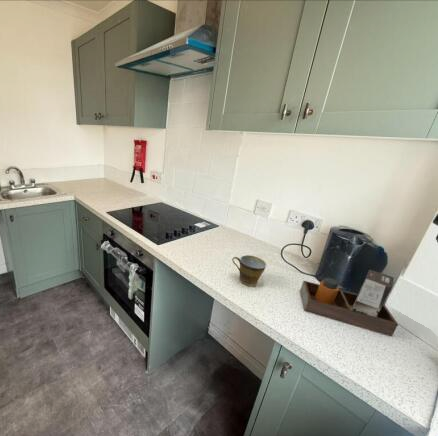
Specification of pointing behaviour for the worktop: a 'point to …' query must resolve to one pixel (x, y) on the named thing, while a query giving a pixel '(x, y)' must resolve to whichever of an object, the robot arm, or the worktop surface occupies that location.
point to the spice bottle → (327, 291)
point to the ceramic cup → (250, 269)
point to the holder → (346, 310)
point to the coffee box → (373, 293)
